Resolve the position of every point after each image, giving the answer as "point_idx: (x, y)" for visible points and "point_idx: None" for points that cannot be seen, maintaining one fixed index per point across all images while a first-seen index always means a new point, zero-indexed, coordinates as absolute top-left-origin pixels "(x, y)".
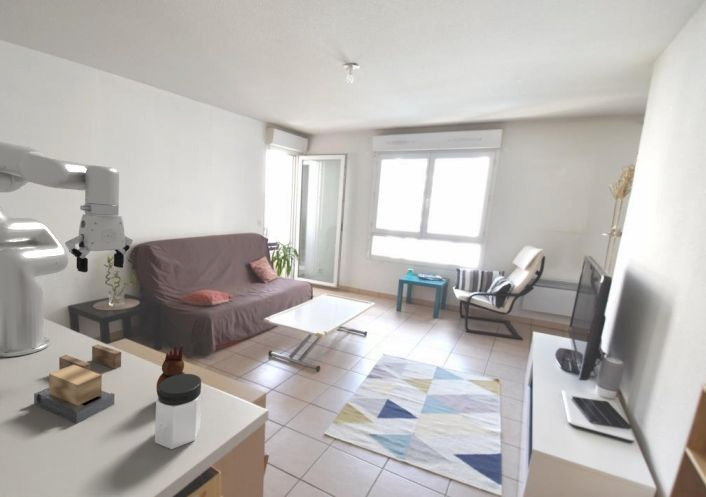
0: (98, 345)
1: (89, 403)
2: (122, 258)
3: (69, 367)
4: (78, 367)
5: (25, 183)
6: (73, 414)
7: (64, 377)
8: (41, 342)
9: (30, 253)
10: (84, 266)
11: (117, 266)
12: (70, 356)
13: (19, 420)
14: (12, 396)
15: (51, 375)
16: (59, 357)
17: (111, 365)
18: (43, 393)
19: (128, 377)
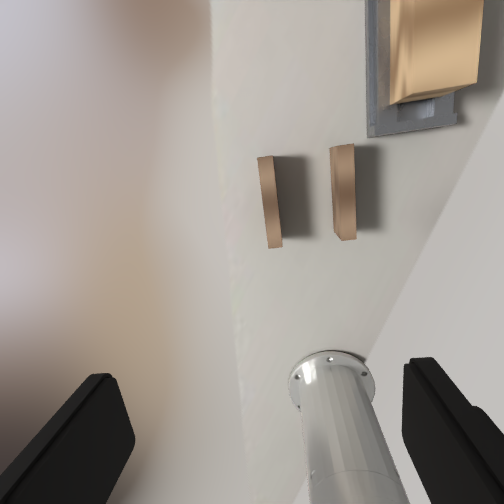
0: (271, 240)
1: None
2: (26, 455)
3: (429, 81)
4: (417, 61)
5: None
6: None
7: (474, 18)
8: (310, 373)
9: None
10: (466, 408)
11: (122, 409)
12: (341, 224)
13: (490, 78)
14: (442, 193)
15: (476, 70)
16: (356, 238)
17: (274, 170)
18: (447, 107)
19: (277, 87)
